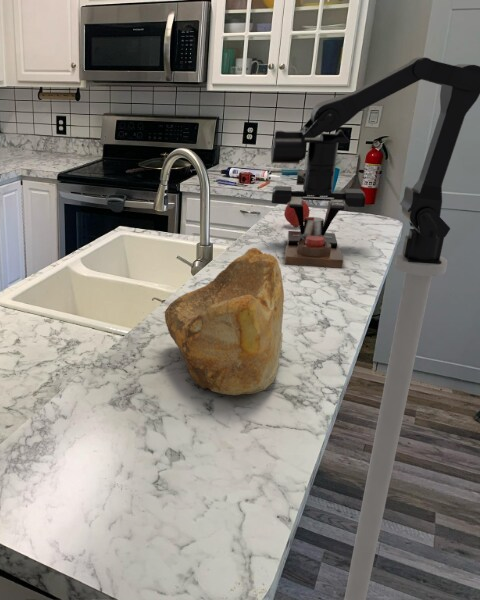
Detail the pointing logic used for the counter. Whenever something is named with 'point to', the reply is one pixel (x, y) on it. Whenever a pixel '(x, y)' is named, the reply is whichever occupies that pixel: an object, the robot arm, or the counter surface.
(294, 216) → the onion
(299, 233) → the dial panel
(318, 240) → the button
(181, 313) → the rough brown rock
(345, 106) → the robot arm
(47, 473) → the counter surface
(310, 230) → the dial
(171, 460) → the counter surface
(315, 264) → the button block
